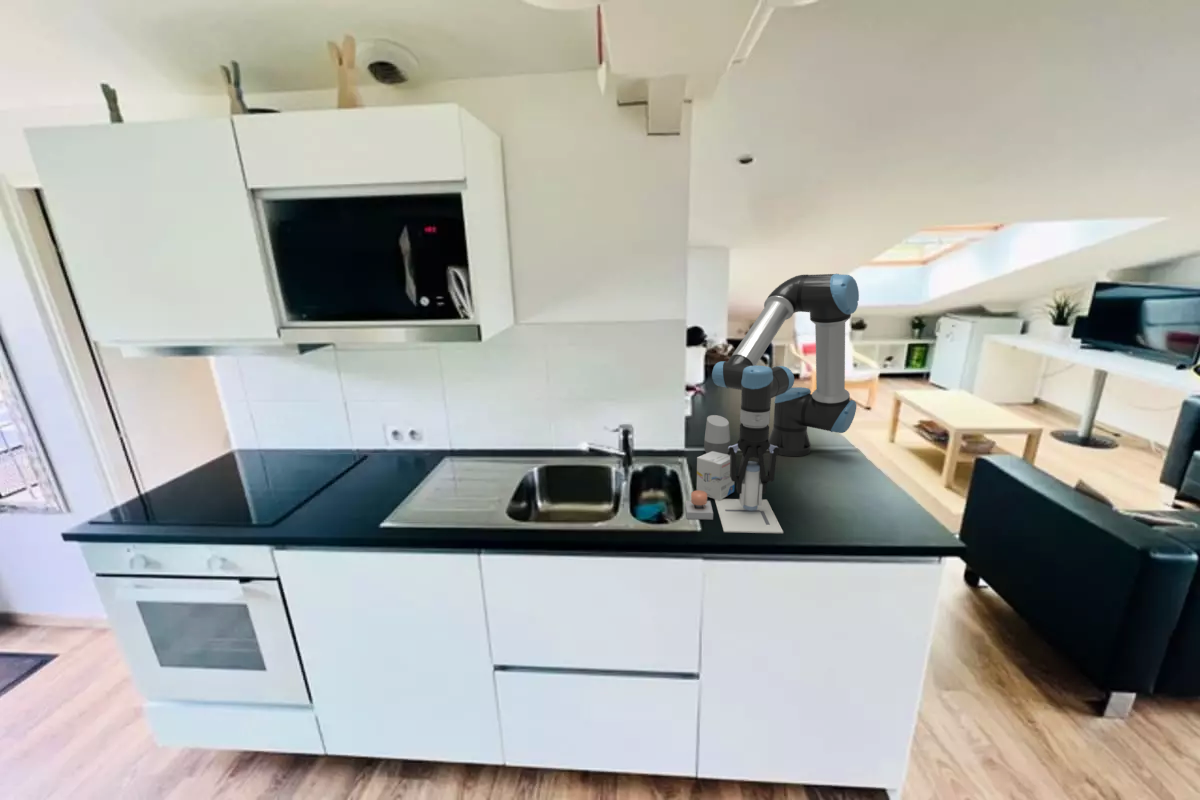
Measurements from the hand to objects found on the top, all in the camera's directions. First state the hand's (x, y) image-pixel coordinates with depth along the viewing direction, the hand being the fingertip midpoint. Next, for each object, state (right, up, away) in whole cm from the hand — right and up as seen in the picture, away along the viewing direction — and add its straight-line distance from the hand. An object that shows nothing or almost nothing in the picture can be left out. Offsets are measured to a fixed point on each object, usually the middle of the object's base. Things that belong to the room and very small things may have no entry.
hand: (750, 503), depth 136 cm
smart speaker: (+1, +9, +43) cm, 44 cm away
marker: (0, -1, 0) cm, 1 cm away
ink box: (-7, 0, +12) cm, 14 cm away
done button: (-14, -1, +1) cm, 14 cm away
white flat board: (-1, -3, -1) cm, 4 cm away
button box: (-14, -3, +1) cm, 15 cm away
